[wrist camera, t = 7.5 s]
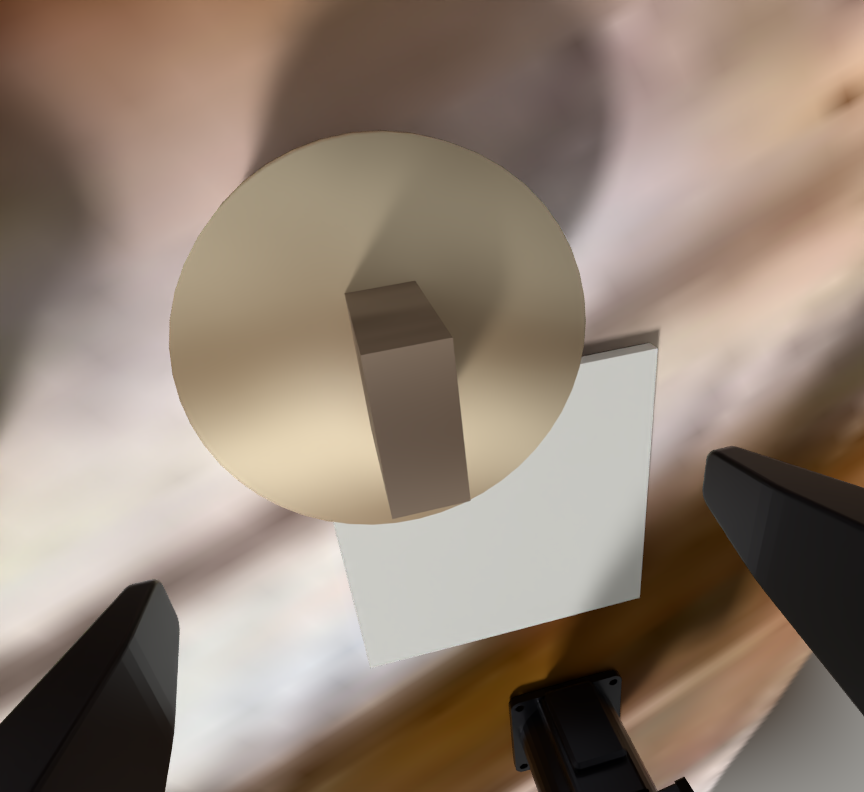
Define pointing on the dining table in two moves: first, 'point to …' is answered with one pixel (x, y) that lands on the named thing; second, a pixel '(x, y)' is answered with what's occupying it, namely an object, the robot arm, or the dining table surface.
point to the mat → (520, 529)
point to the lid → (376, 328)
